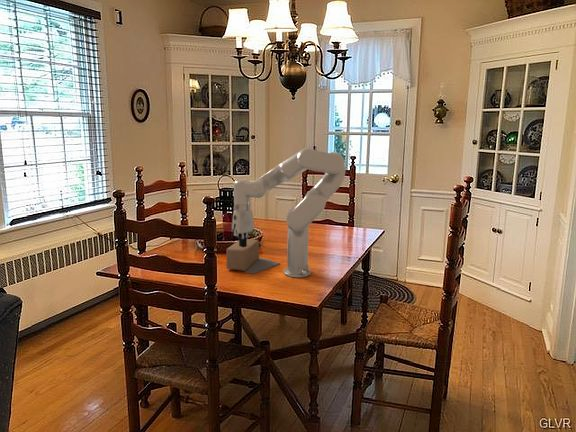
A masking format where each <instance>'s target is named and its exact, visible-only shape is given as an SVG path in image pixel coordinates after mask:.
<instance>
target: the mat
mask: <svg viewBox="0 0 576 432" xmlns="http://www.w3.org/2000/svg"><path fill="white" fill-rule="evenodd" d="M280 264H281V263H280V262H278V261H274V260H271V259H266V258H263V257H259V259H258V260H257V261H255V262H254V263H253V264H252V265H251V266H250V267H249V268H248V269H247V270H245V271H244V270H240V271H242V272H245V273H248V274H250V275H256V274H258V273H260V272H263V271H266V270H268V269H272V268H274V267H277V266H279V265H280Z"/></svg>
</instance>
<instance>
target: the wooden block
mask: <svg viewBox="0 0 576 432" xmlns="http://www.w3.org/2000/svg"><path fill="white" fill-rule="evenodd" d="M225 254H226V256H225V257H226V269H227V270H234V271H235V270H237V271H241V270H244V271H245V270H247V269H248V268H249V267H250V266H251V265H252V264H253V263H254V262H255V261H257V260H258V259H259V258H260V241H259V239H251V238H250V239H249V238H247V246H246V247H240V246H239V240H237V241H236V242H235V243H233V244H232V245H230V246H229V247H227V248H226V253H225ZM244 271H243V272H244Z"/></svg>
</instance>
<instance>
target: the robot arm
mask: <svg viewBox="0 0 576 432" xmlns="http://www.w3.org/2000/svg"><path fill="white" fill-rule="evenodd" d="M307 170H309V171H313V172H319V173H323V174H324V175H323V176H322V177H321V178H320V179H319V181H318V182H317V183H316V184H315V185H314V186H313V187H312V188H311V189H310V190H308V191H307V192H306V194H305V196H304V198H303V199H301V201H299V203H298V204H297V205H294V206H292V207H291V208H290V209H289V210H288V213H287V216H286V225H287V248H286V251H287V254H286V255H287V256H286V257H287V267H286V268H284V270H283V274H284V275H286V277H287V276H288V277H290V278H296V279H297V278H298V279H299V278H307V277H309V276H310V275H312V270H311V269H310V268H309V239H310V238H309V237H310V236H309V233H310V232H309V231H310V225H311V224H312V223H313V222H314V221H315V220H316V218H317V217H319V215H321V213H322V212H323V211H324V209H325V208H326V204H327V202H328V200H329V199H330V198H331V197H332V196H333V195H334V194H335V193H336V191H337V190H338V189H339V188H340V187H341V185H342V184H343V181H344V179H345V177H346V176H345V175H346V164H345V159H344V157H343V155H342V154H341V153H339V152H338V151H337V152H336V151H332V152H325V151H319V150H316V149H314V148H312V147H304V148H302V149H301V150H299V151H298V152H296V153H294V154H293V155H291V156H290V157H289V158H287V159H285V160H284V161H282V162H281V163H279V164H277V165H276V166H275V167H274V168H272V169H270V170H269V171H268V172H266V173H264V174H263V175H261V176H260V177H258V178H256V179H255V180H254V181H250V180H249V179H238V180H234V182H233V213H232V219H231V220H232V223H231V225H232V226H231V227H232V228H231V229H232V232H233V236H234V237H237V239H238V241H239V246H240V247H246V246H247V239H248V236H249V234H250V233H252V232H253V231H254V229H255V223H254V213H253V210H252V199H251V198H253V199H254V198H256V199H261V198H263V197H265V195H266V194H267V192H269V191H271V190H273V189H274V188H276V187H278V186H279V185H280V184H282V183H285V182H286V183H287V182H288V181H291V180H293V179H294V178H297V176H299V175H300V174H302V173H304V172H305V171H307Z"/></svg>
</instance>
